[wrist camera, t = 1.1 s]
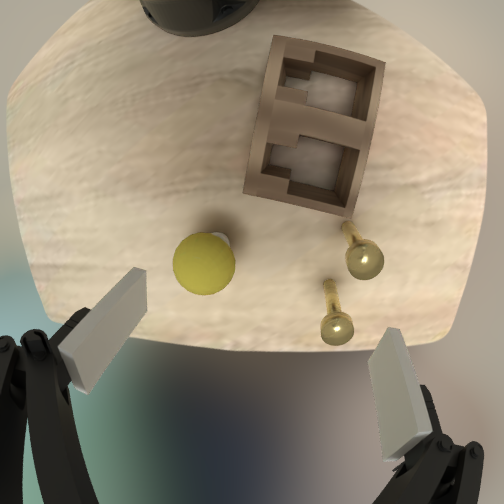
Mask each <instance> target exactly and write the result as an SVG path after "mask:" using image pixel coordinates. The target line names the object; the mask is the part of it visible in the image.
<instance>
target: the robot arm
mask: <svg viewBox="0 0 504 504" xmlns="http://www.w3.org/2000/svg"><path fill="white" fill-rule="evenodd" d="M258 2H259V0H140V3H141V5H142V6H143V9H144V12H145V14H146V15H147V17H148V18H149V19H150V20H151V21H152V22H153V23H154V24H155V25H157V26H158V27H160V28H161V29H163V30H164V31H166V32H169V33H171V34H174V35H179V36H201V35H207V34H211V33H215V32H218V31H220V30H223V29H225V28H228V27H230V26H232V25H233V24H235V23H237V22H238V21H240V20H241V19H243V18H244V17H245V16H246V15H248V14H249V13H250V12H251V11H252V10H253V8H254V7H255V6H256V5H257V3H258ZM146 312H147V286H146V270H143V269H139V268H136V267H133V268H132V269H131V270H130V271H129V272H128V273H127V274H126V275H125V276H124V277H123V278H122V279H121V280H120V281H119V282H118V283H117V284H116V285H115V286H114V287H113V288H112V289H111V290H110V291H109V292H108V293H107V294H106V295H105V296H104V297H103V298H102V299H101V300H100V301H99V302H98V303H97V305H96V306H95V307H94V308H93V309H92V310H90V309H88V308H86V307H84V308H82V309H80V310H78V311H77V312H75V313H74V314H73V315H72V316H71V317H70V319H69V320H67V321H66V323H65V324H64V325H63V326H62V327H61V328H60V329H59V330H58V331H57V332H56V333H55V334H54V335H53V336H52V337H51V338H50V339H49V340H48V338H47V335H46V334H45V333H44V331H42V330H39V329H33V330H29V331H27V332H26V333H24V334H23V336H22V337H21V340H20V343H21V345H22V347H21V346H17V345H16V343H15V341H14V339H13V338H12V337H10V336H1V337H0V504H23V492H22V478H23V454H24V442H25V433H26V425H27V418H28V425H29V433H30V441H31V447H32V454H33V459H34V465H35V469H36V474H37V478H38V483H39V487H40V491H41V495H42V498H43V502H44V504H99V502H98V500H97V497H96V495H95V492H94V489H93V486H92V484H91V480H90V477H89V474H88V471H87V468H86V464H85V461H84V458H83V454H82V451H81V446H80V443H79V439H78V435H77V430H76V425H75V421H74V417H73V410H72V405H71V399H70V393H69V388H68V384H69V383H70V382H71V381H72V383H73V385H74V388H75V389H77V390H79V391H81V392H83V393H85V394H87V395H89V393H90V392H91V390H92V388H93V387H94V385H95V384H96V382H97V381H98V380H99V378H100V377H101V375H102V374H103V372H104V371H105V369H106V368H107V366H108V365H109V364H110V362H111V361H112V359H113V358H114V356H115V355H116V354H117V352H118V351H119V349H120V348H121V347H122V345H123V344H124V342H125V341H126V339H127V338H128V337H129V335H130V334H131V333H132V331H133V330H134V328H135V327H136V326H137V324H138V323H139V322H140V320H141V319H142V317H143V316H144V315H145V313H146ZM368 367H369V373H370V378H371V383H372V388H373V394H374V400H375V406H376V412H377V419H378V426H379V433H380V441H381V448H382V458H383V462H384V461H397V460H398V459H400V458H401V457H402V456H404V457H405V461H404V462H403V463H401V464H400V465H399V466H397V467H396V468H394V469H393V470H392V471H393V472H394V471H396V470H397V469H398V470H397V471H396V473H395V474H394V475H393V477H392V478H391V480H390V481H389V483H388V484H387V485H386V487H385V488H384V489H383V491H382V492H381V493H380V495H379V496H378V497H377V498H376V500H375V501H374V502H373V503H372V504H477V502H478V497H479V491H480V485H481V477H482V470H483V460H484V450H483V448H482V446H481V445H480V444H479V443H478V442H475V441H472V442H470V443H468V444H467V445H466V446H465V447H464V446H459V445H455V444H454V443H453V441H452V439H451V438H450V437H449V436H448V435H446V434H443V433H442V430H441V426H440V423H439V419H438V416H437V413H436V410H435V406H434V403H433V400H432V397H431V393H430V392H429V390H428V389H427V387H426V386H425V385H419V382H418V379H417V376H416V373H415V370H414V367H413V364H412V361H411V358H410V355H409V352H408V350H407V347H406V344H405V342H404V339H403V336H402V334H401V331H400V329H397V328H391V327H388V328H387V330H386V332H385V333H384V335H383V337H382V339H381V340H380V342H379V344H378V345H377V347H376V349H375V350H374V352H373V354H372V355H371V357H370V359H369V360H368ZM454 480H455V481H454Z"/></svg>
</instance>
